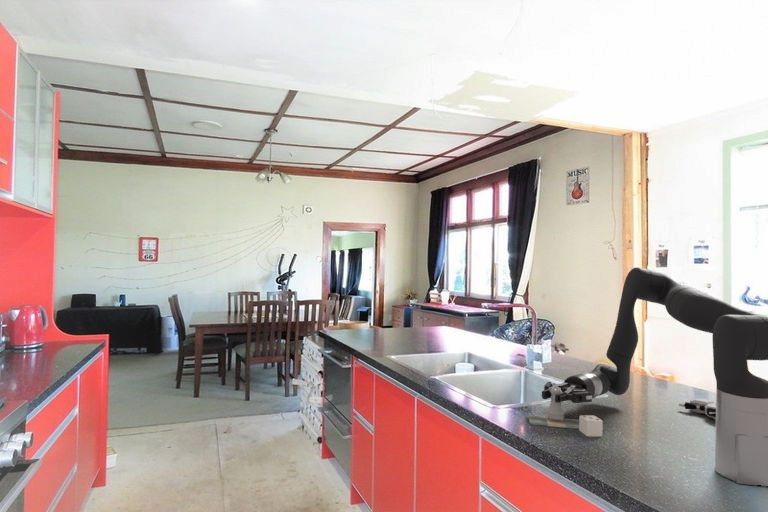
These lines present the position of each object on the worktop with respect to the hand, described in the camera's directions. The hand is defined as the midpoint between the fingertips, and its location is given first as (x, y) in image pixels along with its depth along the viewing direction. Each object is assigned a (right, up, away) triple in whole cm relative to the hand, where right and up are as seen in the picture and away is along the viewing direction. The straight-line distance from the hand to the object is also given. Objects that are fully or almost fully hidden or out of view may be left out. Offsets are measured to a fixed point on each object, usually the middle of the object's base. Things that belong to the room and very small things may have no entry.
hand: (550, 397), depth 124 cm
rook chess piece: (+2, -6, +2) cm, 7 cm away
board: (+4, -8, +1) cm, 9 cm away
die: (+8, -8, -5) cm, 13 cm away
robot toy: (+52, -10, +11) cm, 54 cm away
